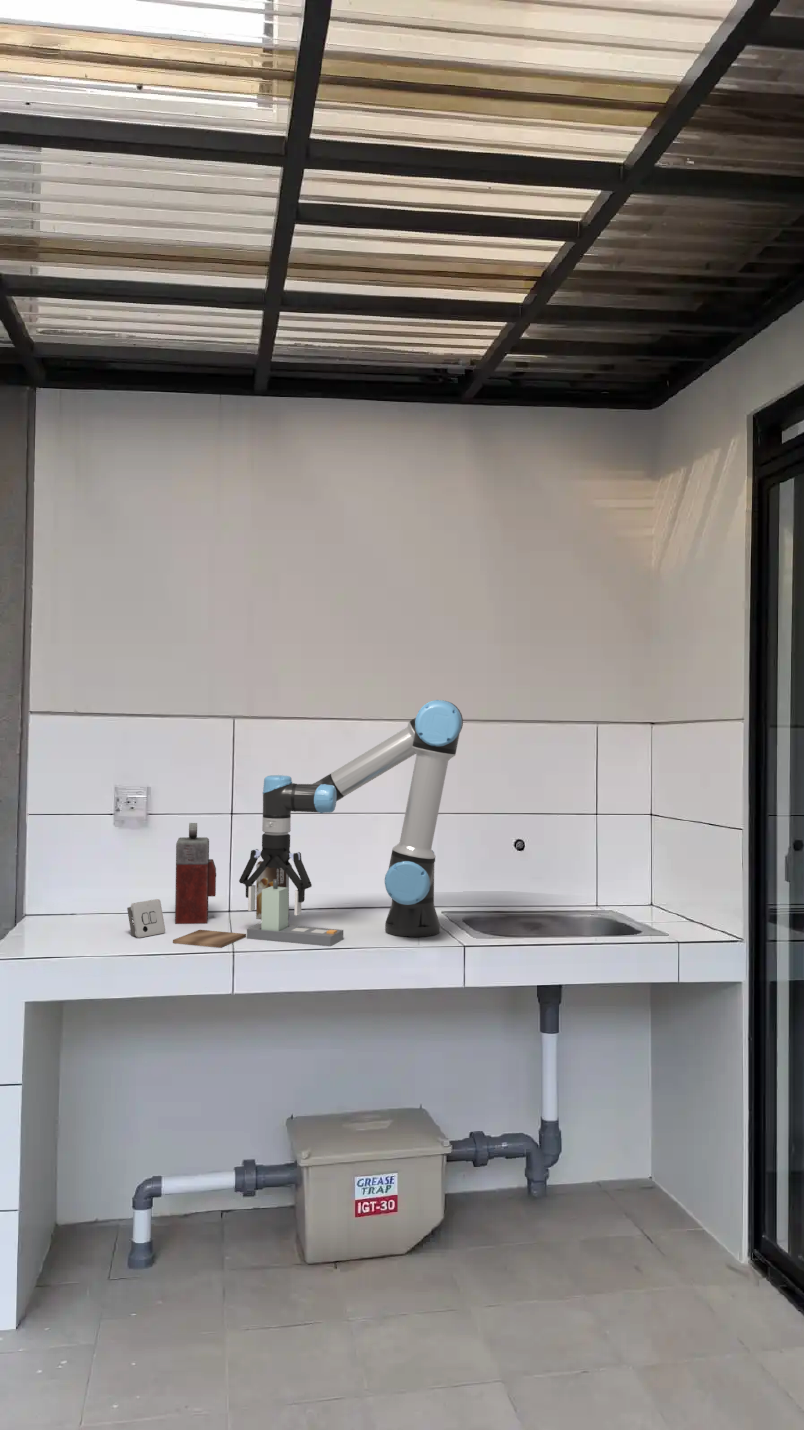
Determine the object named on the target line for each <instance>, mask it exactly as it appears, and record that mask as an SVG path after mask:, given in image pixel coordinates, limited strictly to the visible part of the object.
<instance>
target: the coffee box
mask: <svg viewBox="0 0 804 1430" xmlns="http://www.w3.org/2000/svg"><path fill="white" fill-rule="evenodd" d="M262 862H263V860H259V861H258V862H257V864H255V865H256V867H255V870H256V869H257V868H258V867H259V865H260V864H261V863H262ZM274 879H277V880H278V887H288V888H289V890H288V918H289V916H290V887H289V886H290V878H289V876H288V875H287V873H286V872H285V871H284V870H283V869H282V868H280V869H277V868H269V867H267V868H266V869H265V870H264V871H263V872H262V874H261V875H260V876H259V877H258V878H257V880H256V881H255V882H256V883H255V885H256V892H255V910H256V913H255V914H256V915H255V916H256V917H255V918H256V920H262V890H263V889H265V888H268V887H271V886H273V880H274Z"/></svg>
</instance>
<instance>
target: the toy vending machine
mask: <svg viewBox="0 0 804 1430" xmlns="http://www.w3.org/2000/svg"><path fill="white" fill-rule="evenodd" d="M216 889H217V867H216V865H215V862H214V859H211V858H210V839H209V838H208V837H205V836H204V837H202V836H201V837H198V822H189V823H188V837H178V839H177V842H176V844H175V896H174V897H175V898H174V899H175V900H174V901H175V903H174V904H175V905H174V906H175V907H174V909H175V910H174V924H175V925H190V924H191V925H192V924H193V925H196V924H197V925H199V924H201V925H202V924H208V922H209V897H216V895H217V892H216Z"/></svg>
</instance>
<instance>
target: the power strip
mask: <svg viewBox="0 0 804 1430" xmlns="http://www.w3.org/2000/svg"><path fill="white" fill-rule="evenodd" d="M246 939H251V940H260V941H261V940H262V941H272V942H283V943H290V944H291V943H293V944H294V943H295V944H303V945H315V946H326V947H331V946H333V945H335V944H337V943H339V942H341V941H343V940H344V929H339V928H326V927H325V928H324V927H318V926H317V927H314V926H303V925H291V924H288V928H285V929H283V930H281V931H273V930H262V929H261V922H260V923H258V924H255V925H253V926H251V927H248V928H246Z"/></svg>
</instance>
